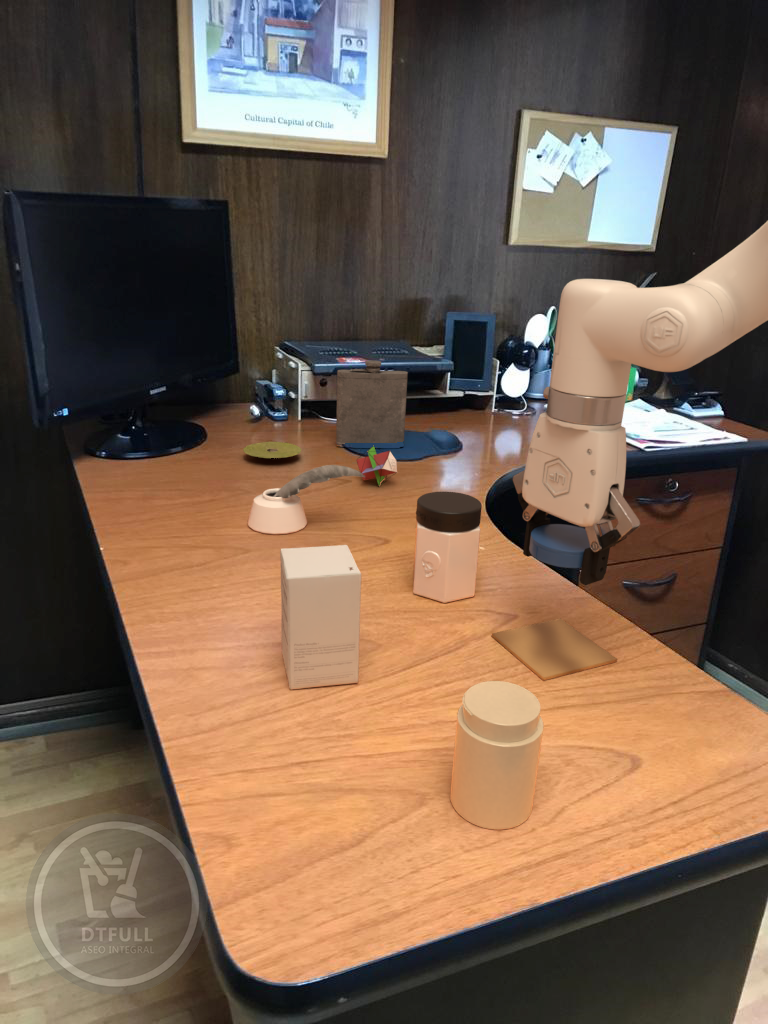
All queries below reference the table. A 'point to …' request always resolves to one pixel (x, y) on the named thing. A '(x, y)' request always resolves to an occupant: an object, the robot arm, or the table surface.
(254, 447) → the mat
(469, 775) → the jam jar
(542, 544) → the lid
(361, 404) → the flask
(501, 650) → the table surface
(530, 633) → the coaster
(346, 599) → the white packaging box
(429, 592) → the jar
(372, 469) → the geometric puzzle
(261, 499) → the inkwell
